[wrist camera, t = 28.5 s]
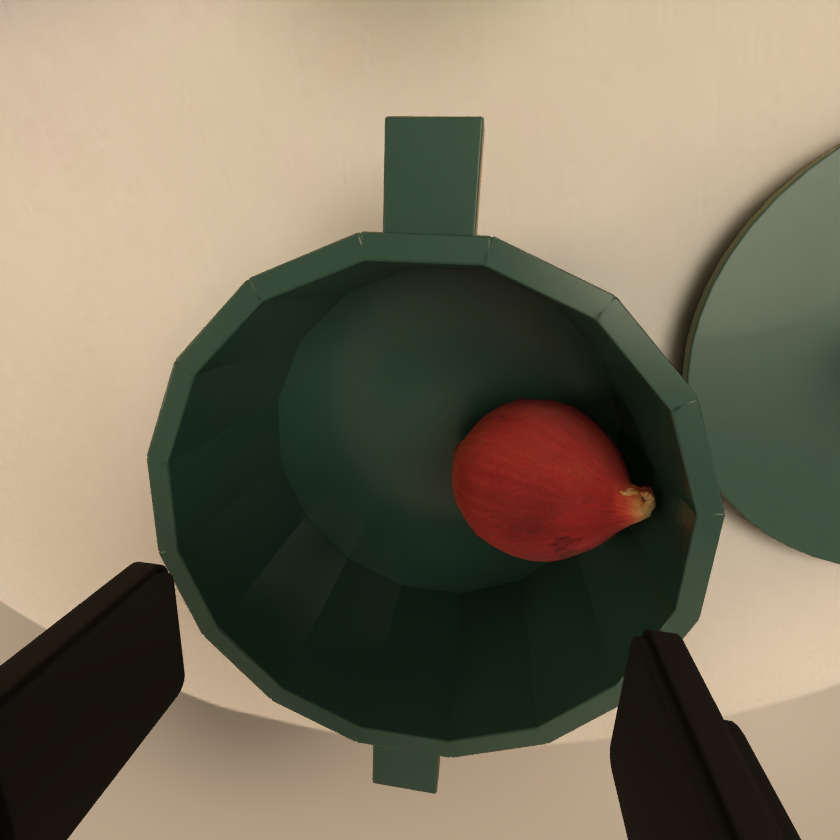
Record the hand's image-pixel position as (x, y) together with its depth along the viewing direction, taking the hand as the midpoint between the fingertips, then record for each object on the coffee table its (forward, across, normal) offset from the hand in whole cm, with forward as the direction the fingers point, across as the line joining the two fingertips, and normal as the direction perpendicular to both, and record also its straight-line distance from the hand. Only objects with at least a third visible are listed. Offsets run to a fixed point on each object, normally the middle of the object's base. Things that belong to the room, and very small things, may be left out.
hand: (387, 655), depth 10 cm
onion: (+12, 0, 0) cm, 12 cm away
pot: (+13, 0, 0) cm, 13 cm away
